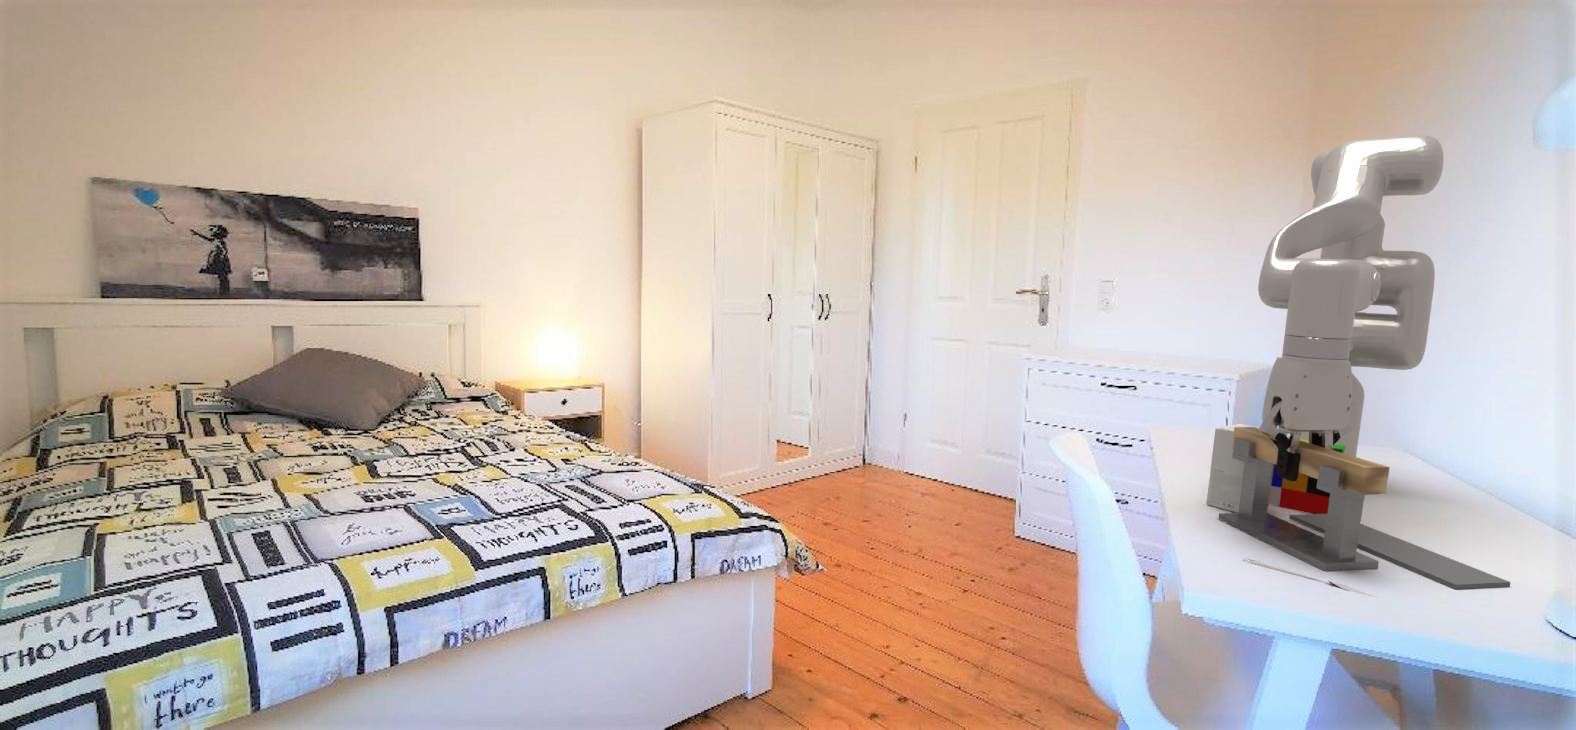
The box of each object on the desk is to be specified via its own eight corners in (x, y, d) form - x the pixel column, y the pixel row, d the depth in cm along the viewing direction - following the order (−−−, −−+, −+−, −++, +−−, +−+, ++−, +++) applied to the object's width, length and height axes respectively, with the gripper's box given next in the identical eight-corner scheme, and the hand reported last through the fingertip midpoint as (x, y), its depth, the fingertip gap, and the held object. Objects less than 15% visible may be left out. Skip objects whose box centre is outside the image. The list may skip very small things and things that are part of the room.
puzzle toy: (1255, 502, 122) (1262, 444, 121) (1267, 489, 129) (1274, 435, 128) (1328, 517, 115) (1337, 456, 114) (1337, 503, 123) (1345, 445, 121)
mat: (1333, 517, 115) (1334, 513, 115) (1509, 586, 91) (1510, 582, 91) (1289, 518, 114) (1289, 514, 114) (1455, 589, 90) (1455, 584, 90)
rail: (1252, 448, 114) (1254, 427, 113) (1385, 493, 92) (1389, 467, 92) (1232, 449, 113) (1234, 427, 113) (1361, 494, 92) (1365, 467, 91)
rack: (1264, 518, 114) (1274, 436, 112) (1377, 568, 96) (1391, 471, 94) (1218, 519, 113) (1227, 436, 111) (1324, 571, 94) (1337, 472, 92)
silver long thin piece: (1425, 611, 82) (1237, 558, 96) (1424, 620, 82) (1236, 565, 96) (1430, 602, 85) (1246, 551, 99) (1429, 610, 85) (1245, 558, 99)
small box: (1246, 516, 115) (1256, 435, 113) (1205, 504, 120) (1213, 427, 118) (1270, 507, 119) (1280, 430, 117) (1229, 497, 124) (1238, 422, 123)
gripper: (1343, 346, 105) (1327, 469, 108) (1241, 346, 103) (1227, 471, 105) (1393, 353, 98) (1374, 485, 100) (1284, 352, 95) (1268, 487, 98)
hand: (1299, 476), depth 103 cm, fingers closed on rail, 3 cm apart
